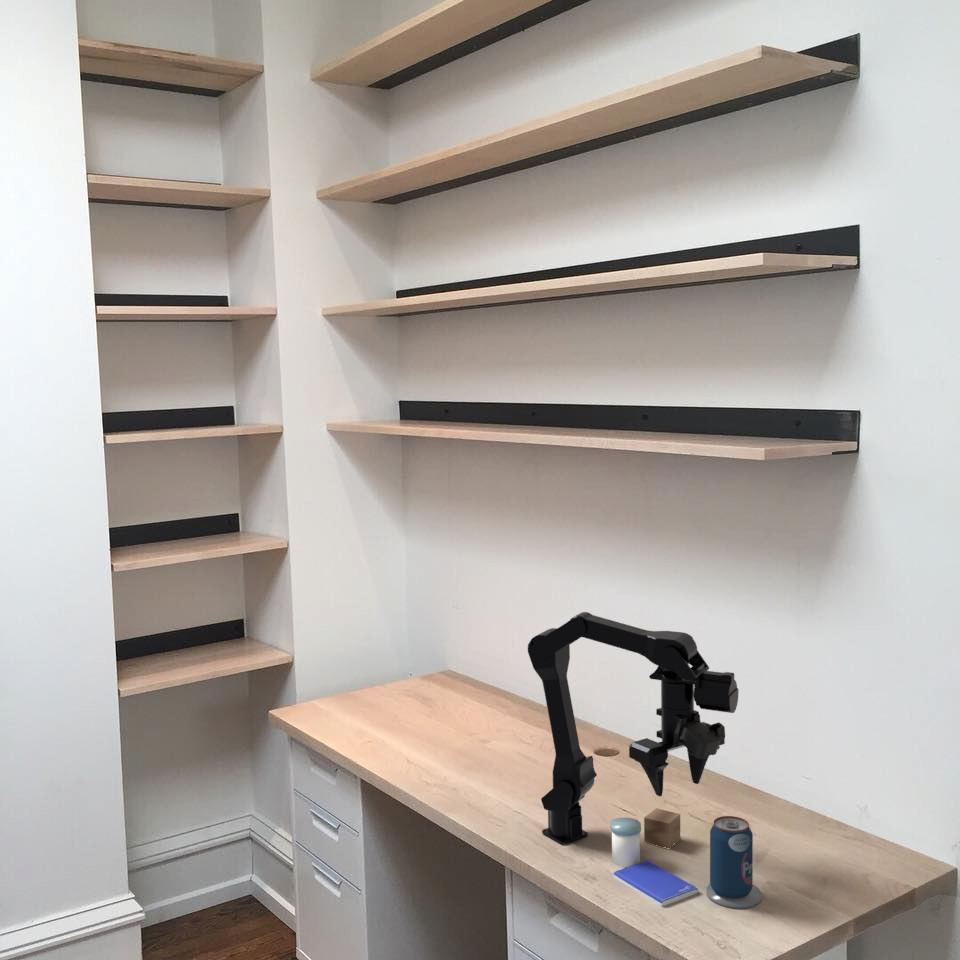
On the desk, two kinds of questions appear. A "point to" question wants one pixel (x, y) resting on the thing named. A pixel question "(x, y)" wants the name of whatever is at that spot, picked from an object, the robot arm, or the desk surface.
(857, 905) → the desk surface
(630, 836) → the white jar
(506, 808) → the desk surface
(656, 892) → the hard drive
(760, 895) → the coaster
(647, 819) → the walnut block
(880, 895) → the desk surface
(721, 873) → the soda can
